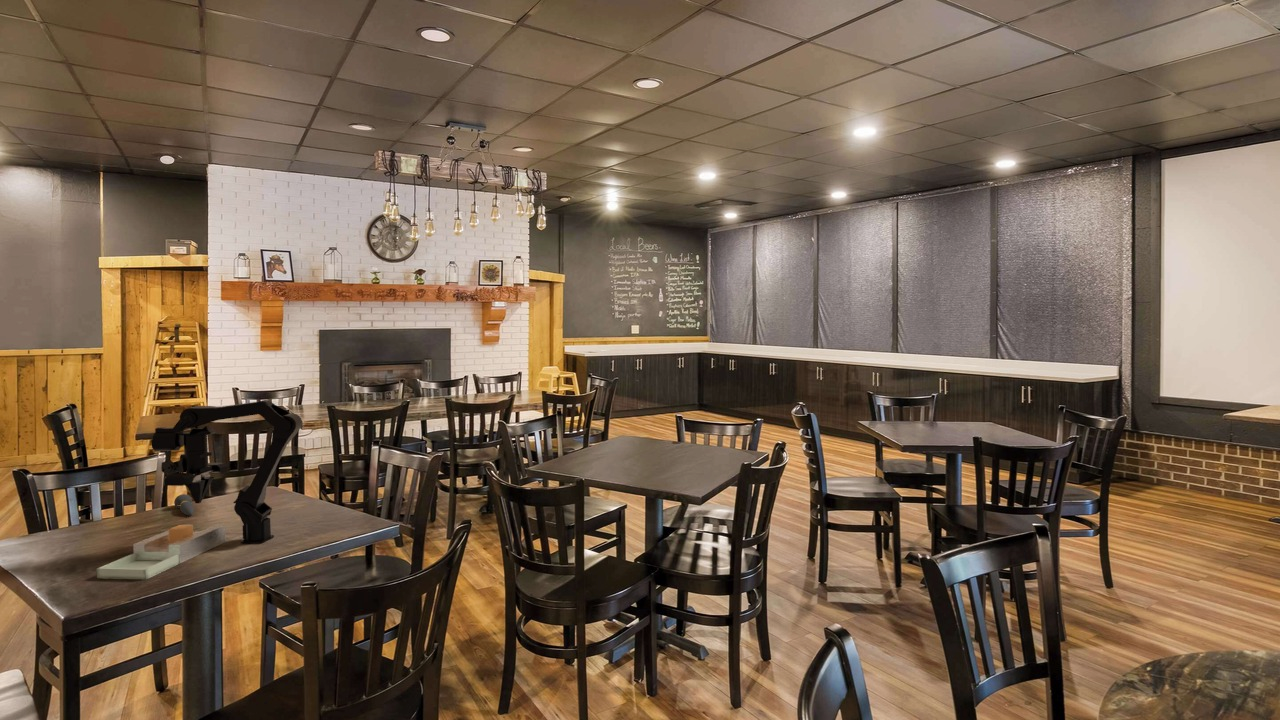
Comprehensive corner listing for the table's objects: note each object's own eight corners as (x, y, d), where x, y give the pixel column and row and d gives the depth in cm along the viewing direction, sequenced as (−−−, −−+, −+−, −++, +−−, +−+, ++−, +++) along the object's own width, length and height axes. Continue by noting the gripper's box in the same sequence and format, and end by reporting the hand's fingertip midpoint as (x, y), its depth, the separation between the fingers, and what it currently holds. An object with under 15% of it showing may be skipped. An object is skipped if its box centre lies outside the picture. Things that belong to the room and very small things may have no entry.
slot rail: (225, 541, 199) (225, 525, 199) (180, 563, 181) (179, 544, 181) (183, 541, 200) (182, 524, 200) (134, 562, 182) (133, 544, 182)
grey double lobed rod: (203, 515, 228) (203, 500, 228) (186, 518, 225) (186, 503, 225) (187, 504, 242) (187, 491, 242) (171, 507, 238) (170, 493, 238)
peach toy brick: (193, 539, 192) (192, 525, 192) (183, 543, 188) (182, 529, 188) (180, 538, 193) (179, 525, 192) (169, 543, 189) (168, 529, 188)
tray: (178, 564, 181) (178, 554, 181) (146, 579, 170) (145, 569, 170) (132, 563, 182) (132, 553, 182) (97, 578, 171) (96, 568, 171)
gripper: (192, 444, 206) (194, 494, 207) (144, 455, 187) (146, 511, 188) (227, 444, 205) (229, 495, 206) (182, 456, 187) (184, 512, 188)
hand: (198, 503), depth 197 cm, fingers closed
